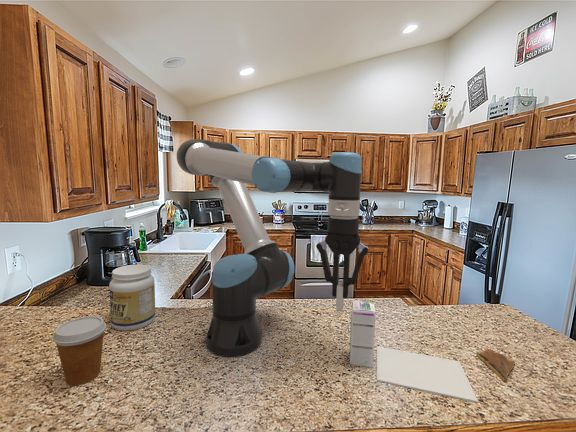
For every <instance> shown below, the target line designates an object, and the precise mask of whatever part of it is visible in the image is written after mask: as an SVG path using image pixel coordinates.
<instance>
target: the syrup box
mask: <svg viewBox="0 0 576 432" xmlns="http://www.w3.org/2000/svg"><path fill="white" fill-rule="evenodd" d="M350 311H351V312H350V328H349V330H350V332H349V334H350V337H349V365H351V366H357V367H363V368H364V367H366V368H371V369H373V368H374V358H375V357H374V356H375V338H376V337H375V334H376V333H375V331H376V313H377V312H376V308H375V303H374V302H372V301H366V300H351V310H350Z"/></svg>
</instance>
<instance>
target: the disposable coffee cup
mask: <svg viewBox="0 0 576 432" xmlns="http://www.w3.org/2000/svg"><path fill="white" fill-rule="evenodd" d="M106 329H107V324H106V322H105V321H104V319H103V318H102V317H100V316H95V315H91V316H82V317H78V318H74V319H70V320H68V321H66V322H64V323H62V324H59V326H58V327H56V329H55V332H54V334H53V335H52V341H53V342H54V343H55V344H56V348H57V352H58V357H59V360H60V363H61V369H62V372H63V376H64V379H65V380H64V381H65V384H67V385H68V386H81V385H84V384H87V383H89V382H91V381H93V380H94V379H96V378H98V376H99V375H100V373H101V368H102V367H101V365H102V355H103V354H102V353H103V346H104V334H105V330H106Z"/></svg>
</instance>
